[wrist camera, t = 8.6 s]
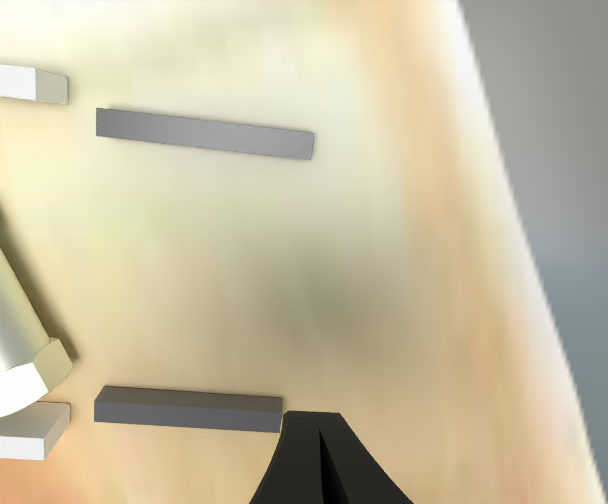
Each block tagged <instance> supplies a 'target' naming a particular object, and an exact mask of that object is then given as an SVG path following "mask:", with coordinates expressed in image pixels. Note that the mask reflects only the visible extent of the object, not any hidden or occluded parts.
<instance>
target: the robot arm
mask: <svg viewBox="0 0 608 504" xmlns="http://www.w3.org/2000/svg"><path fill="white" fill-rule="evenodd" d="M249 504H414V503H413V502H412V501H411V500H410V499H409V498H408V497H407V496H406V495H405V494H404V493H403V492H402V491H401V490H400V489H399V488H398V487H397V485H396V484H395V483H394V482H393V481H392V480H391V479H390V478H389V476H388V475H387V474H386V473H385V472H384V470H383V469H382V468H381V467H380V466H379V464H378V463H377V462H376V461H375V460H374V458H373V457H372V456H371V455H370V453H369V452H368V451H367V449H366V448H365V447H364V445H363V444H362V443H361V441H360V440H359V439H358V437H357V436H356V435H355V433H354V432H353V431H352V429H351V428H350V426H349V425H348V424H347V422H346V421H345V419H344V418H343V417H342V416H341V414H340V413H330V412H308V411H287V412H286V413H285V414H284V415H283V424H282V431H281V435H280V438H279V441H278V444H277V447H276V450H275V452H274V454H273V457H272V459H271V462H270V464H269V467H268V469H267V471H266V473H265V475H264V477H263V479H262V481H261V483H260V484H259V486H258V488H257V490H256V492H255V494H254V496H253V498H252V499H251V501H250V503H249Z"/></svg>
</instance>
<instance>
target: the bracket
mask: <svg viewBox="0 0 608 504" xmlns="http://www.w3.org/2000/svg"><path fill="white" fill-rule="evenodd" d="M0 97H7V98H16V99H24V100H33V101H41V102H50V103H58V104H67V105H68V77H65V76H61V75H57V74H54V73H50V72H46V71H43V70H39V69H35V68H27V67H19V66H11V65H3V64H0ZM69 424H70V404H67V403H51V402H34V403H32V404H31V405H29V406H27V407H25V408H23V409H21V410H19V411H17V412H15V413H12V414H10V415H7V416H5V417H2V418H0V458H13V459H32V460H44V459H45V458H46V457H47V455H48V454H49V452H50V451H51V450H52V448H53V447H54V445H55V444H56V442H57V441H58V440H59V438H60V437H61V435H62V434H63V433H64V431H65V430H66V428H67V427H68V425H69Z"/></svg>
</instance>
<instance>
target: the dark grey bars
mask: <svg viewBox="0 0 608 504" xmlns="http://www.w3.org/2000/svg"><path fill="white" fill-rule="evenodd" d="M96 136H102V137H111V138H120V139H129V140H138V141H147V142H155V143H164V144H173V145H182V146H191V147H200V148H209V149H218V150H226V151H235V152H244V153H253V154H262V155H271V156H280V157H289V158H297V159H306V160H311V156H312V147H313V139H314V133H307V132H299V131H290V130H282V129H273V128H265V127H256V126H248V125H239V124H231V123H222V122H214V121H205V120H197V119H188V118H180V117H171V116H163V115H154V114H146V113H137V112H129V111H120V110H112V109H103V108H96ZM281 417H282V398H272V397H257V396H243V395H228V394H213V393H198V392H183V391H168V390H154V389H139V388H124V387H109V386H104V387H103V389H102V390H101V392H100V393H99V395H98V396H97V398H96V399H95V401H94V422H108V423H125V424H141V425H157V426H174V427H190V428H207V429H223V430H240V431H256V432H272V433H280V426H281Z"/></svg>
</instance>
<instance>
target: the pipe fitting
mask: <svg viewBox="0 0 608 504" xmlns="http://www.w3.org/2000/svg"><path fill="white" fill-rule="evenodd" d="M72 367H73V364H72V362H71V361H70V359H69V357H68V355H67V353H66V351H65V349H64V348H63V346H62V344H61V342H60V340H59V339H56V338H53V337H48V335H47V333H46V331H45V329H44V328H43V326H42V324H41V322H40V320H39V318H38V316H37V315H36V313H35V311H34V309H33V307H32V305H31V304H30V302H29V300H28V298H27V296H26V294H25V292H24V291H23V289H22V287H21V285H20V283H19V281H18V279H17V278H16V276H15V274H14V272H13V270H12V268H11V267H10V265H9V263H8V261H7V259H6V257H5V256H4V254H3V252H2V250H1V248H0V418H2V417H5V416H7V415H10V414H12V413H15V412H17V411H19V410H21V409H23V408H25V407H27V406H29V405H31V404H32V403H34V402H36V401H37V400H39V399H41V398H42V397H44V396H45V395H47V394H48V393H49V392H51V391H52V390H54V389H55V388H56V387H57V386H58V385H60V384H61V383H62V382H63V381H64V379H65V378H66V377H67V376H68V374H69V373H70V371H71V369H72Z"/></svg>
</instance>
